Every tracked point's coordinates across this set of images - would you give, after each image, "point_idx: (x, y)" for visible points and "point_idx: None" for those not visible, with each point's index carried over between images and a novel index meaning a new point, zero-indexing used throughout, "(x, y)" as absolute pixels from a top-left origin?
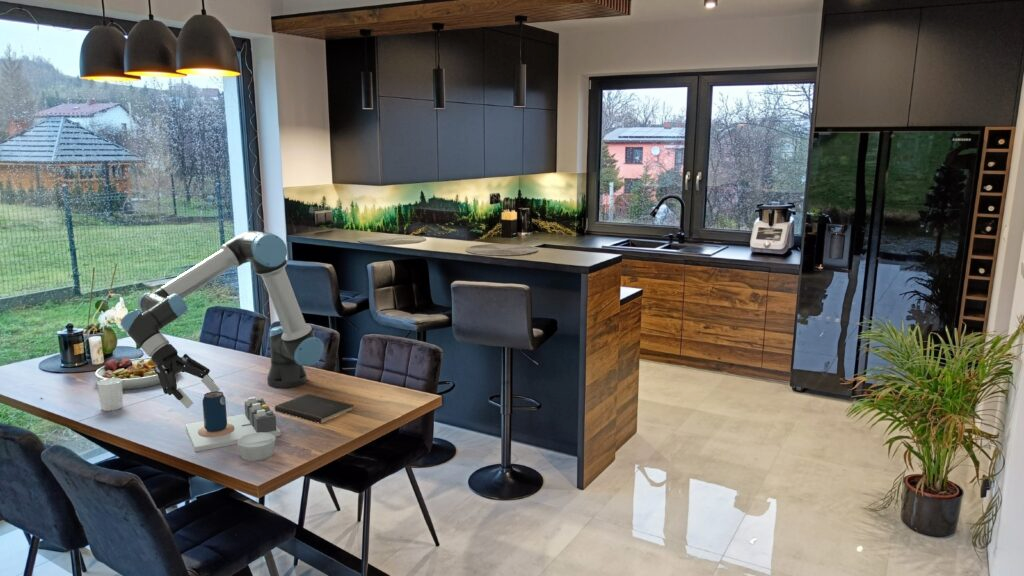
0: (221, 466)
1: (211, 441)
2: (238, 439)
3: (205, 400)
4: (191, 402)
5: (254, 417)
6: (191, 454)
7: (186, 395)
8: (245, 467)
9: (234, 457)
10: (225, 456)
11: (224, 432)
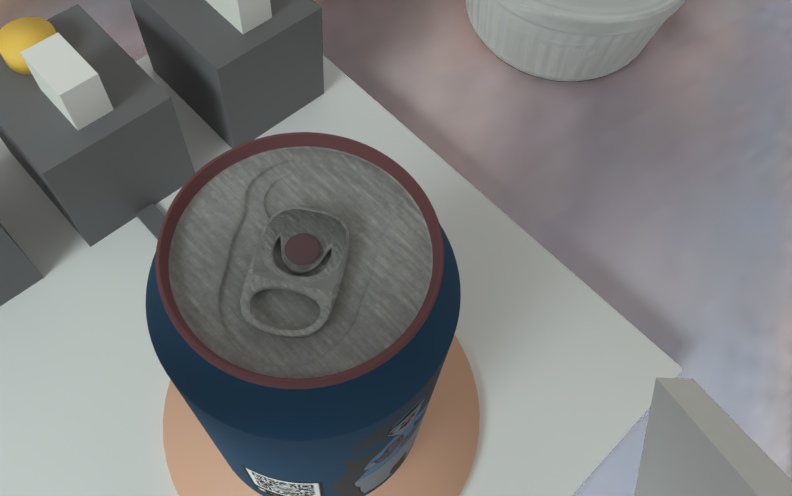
0: (757, 112)
1: (543, 311)
2: (626, 20)
3: (447, 315)
4: (692, 386)
5: (255, 57)
6: (713, 380)
7: (745, 471)
8: (706, 9)
9: (629, 107)
10: (639, 157)
11: None
